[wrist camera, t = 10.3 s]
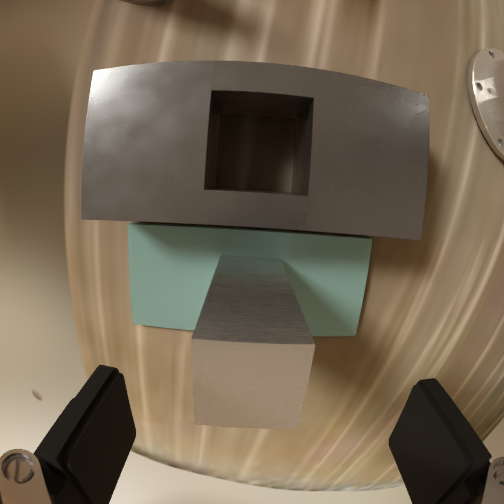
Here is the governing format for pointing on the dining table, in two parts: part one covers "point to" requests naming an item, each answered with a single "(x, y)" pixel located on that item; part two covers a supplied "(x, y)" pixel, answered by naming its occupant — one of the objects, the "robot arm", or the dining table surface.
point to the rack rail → (255, 104)
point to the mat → (249, 245)
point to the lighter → (150, 2)
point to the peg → (250, 348)
